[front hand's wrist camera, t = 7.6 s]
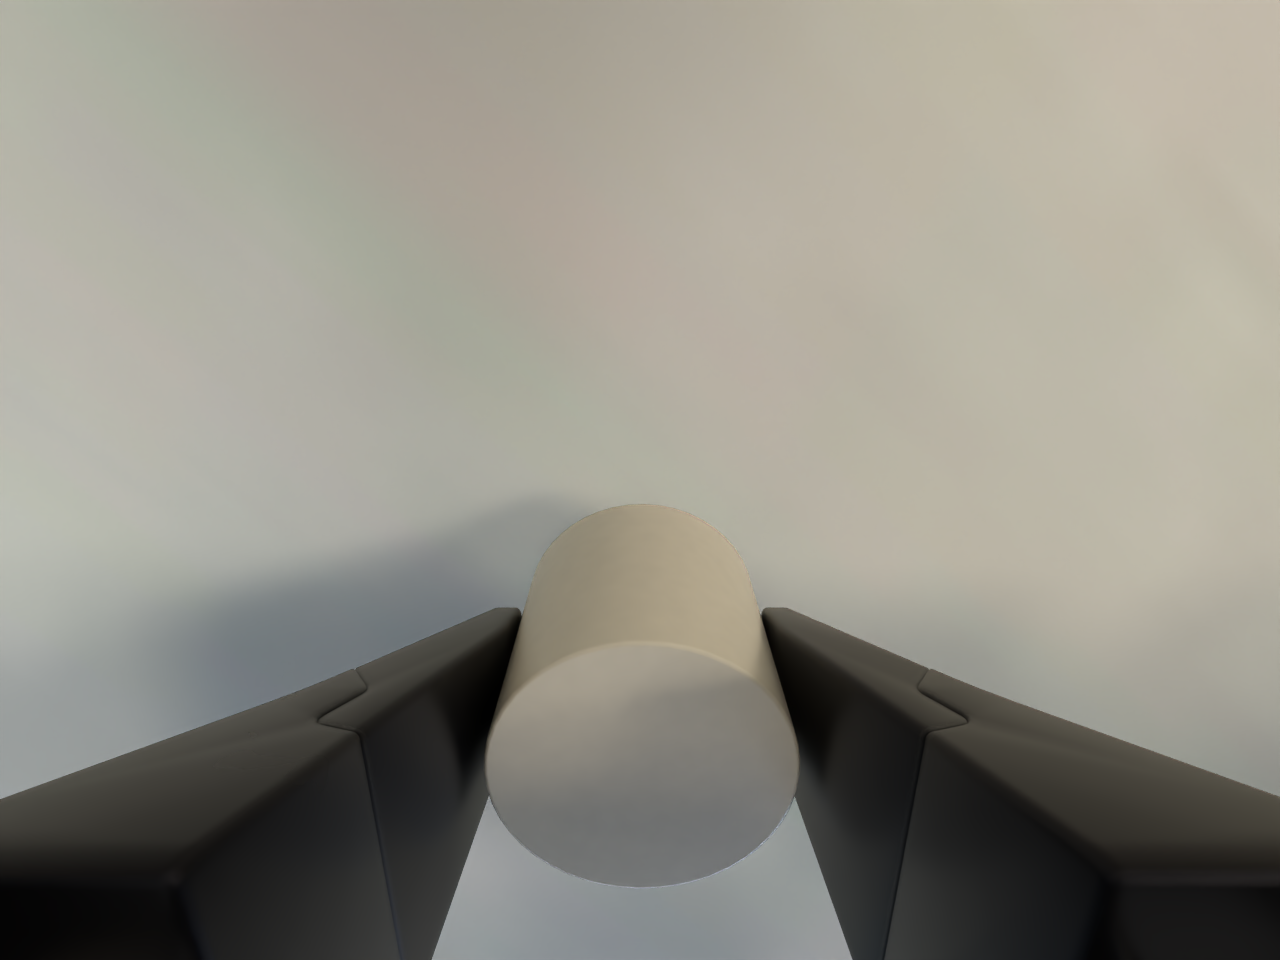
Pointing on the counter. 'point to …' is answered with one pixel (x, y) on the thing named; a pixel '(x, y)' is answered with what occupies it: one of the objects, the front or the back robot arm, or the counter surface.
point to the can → (641, 706)
